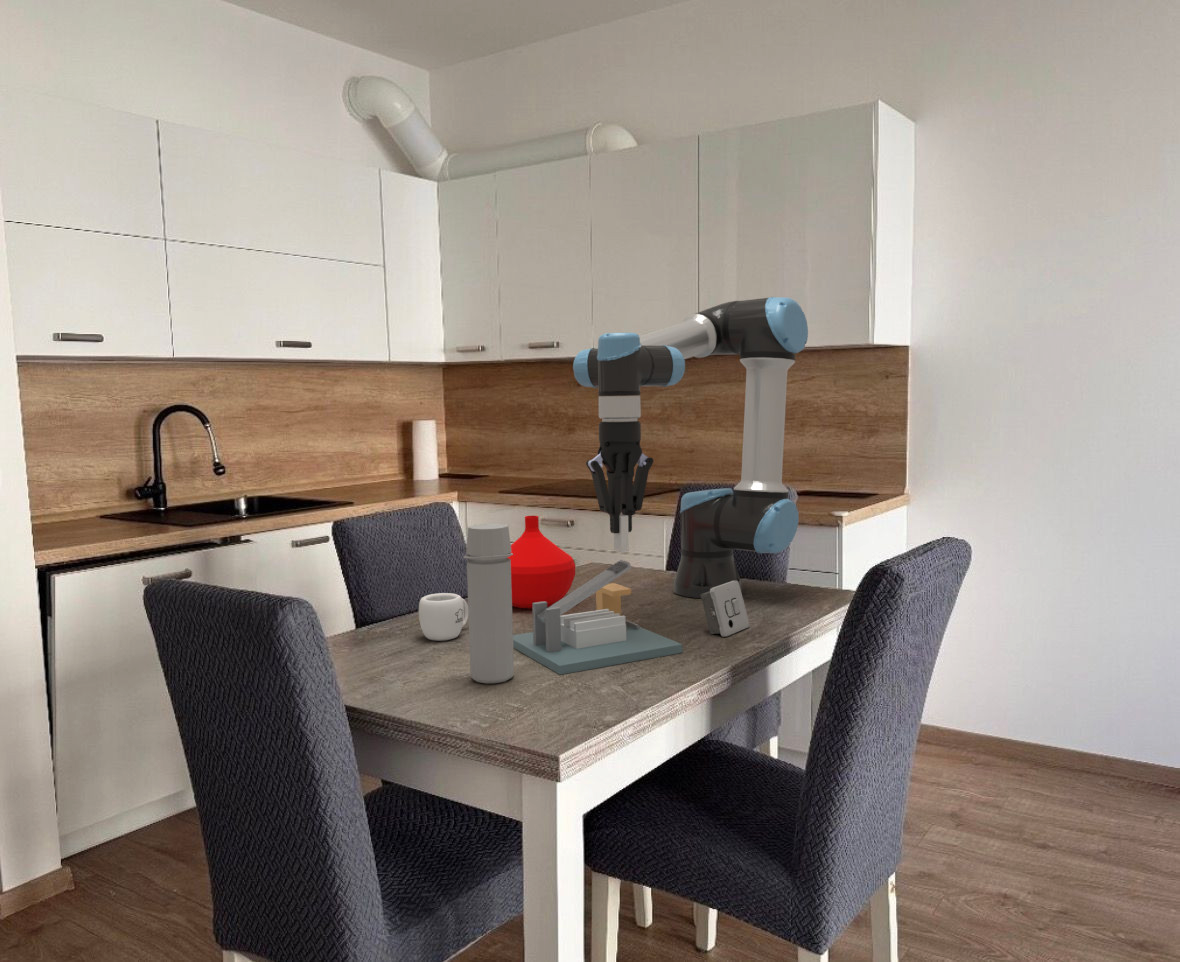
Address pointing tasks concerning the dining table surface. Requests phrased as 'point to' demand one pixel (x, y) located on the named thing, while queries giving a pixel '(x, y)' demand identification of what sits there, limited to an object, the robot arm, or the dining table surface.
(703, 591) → the robot arm
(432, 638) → the mug
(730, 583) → the electrical switch
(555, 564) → the vase
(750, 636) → the dining table surface
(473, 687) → the dining table surface
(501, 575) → the water bottle
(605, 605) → the orange block
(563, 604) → the grey long bar
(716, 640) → the dining table surface
